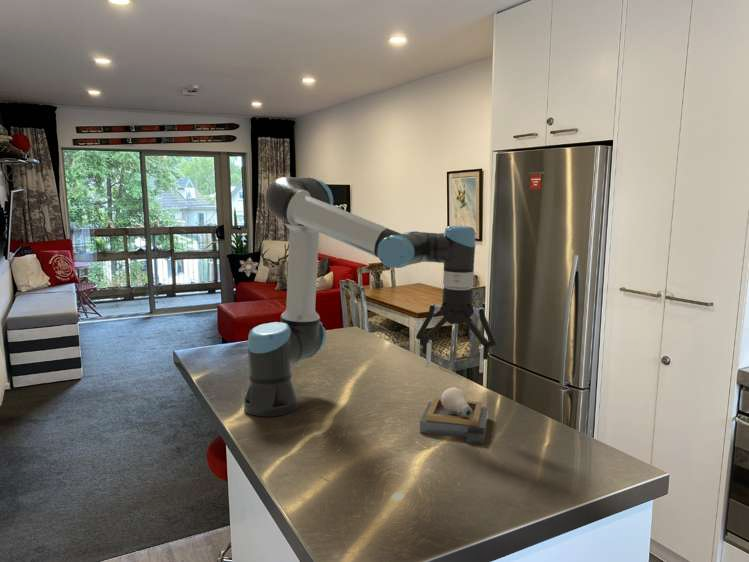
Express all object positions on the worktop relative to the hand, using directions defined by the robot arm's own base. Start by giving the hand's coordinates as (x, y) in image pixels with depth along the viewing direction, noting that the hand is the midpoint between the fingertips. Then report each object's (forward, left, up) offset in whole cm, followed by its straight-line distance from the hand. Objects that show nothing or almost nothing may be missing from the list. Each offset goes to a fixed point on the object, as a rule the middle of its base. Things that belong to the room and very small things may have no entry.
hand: (454, 368), depth 143 cm
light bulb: (+1, -2, -12) cm, 12 cm away
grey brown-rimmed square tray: (0, 0, -15) cm, 15 cm away
